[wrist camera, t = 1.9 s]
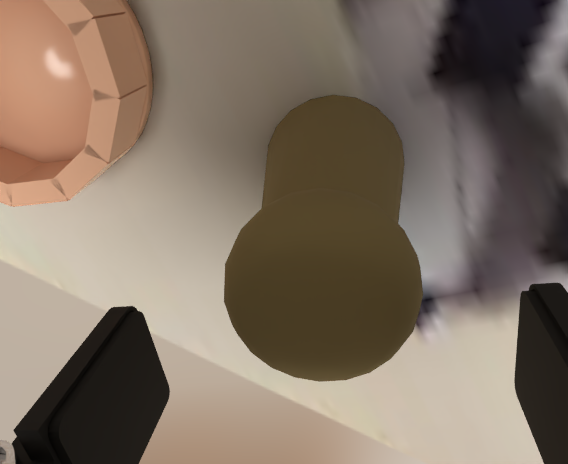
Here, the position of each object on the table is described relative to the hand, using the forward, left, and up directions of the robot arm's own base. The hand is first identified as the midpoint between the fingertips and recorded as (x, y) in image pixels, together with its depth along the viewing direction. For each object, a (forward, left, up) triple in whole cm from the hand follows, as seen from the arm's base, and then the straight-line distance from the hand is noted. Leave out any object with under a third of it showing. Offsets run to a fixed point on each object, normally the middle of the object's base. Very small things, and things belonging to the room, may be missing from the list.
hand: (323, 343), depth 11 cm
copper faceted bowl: (-7, -12, -11) cm, 17 cm away
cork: (-1, 0, -11) cm, 11 cm away
